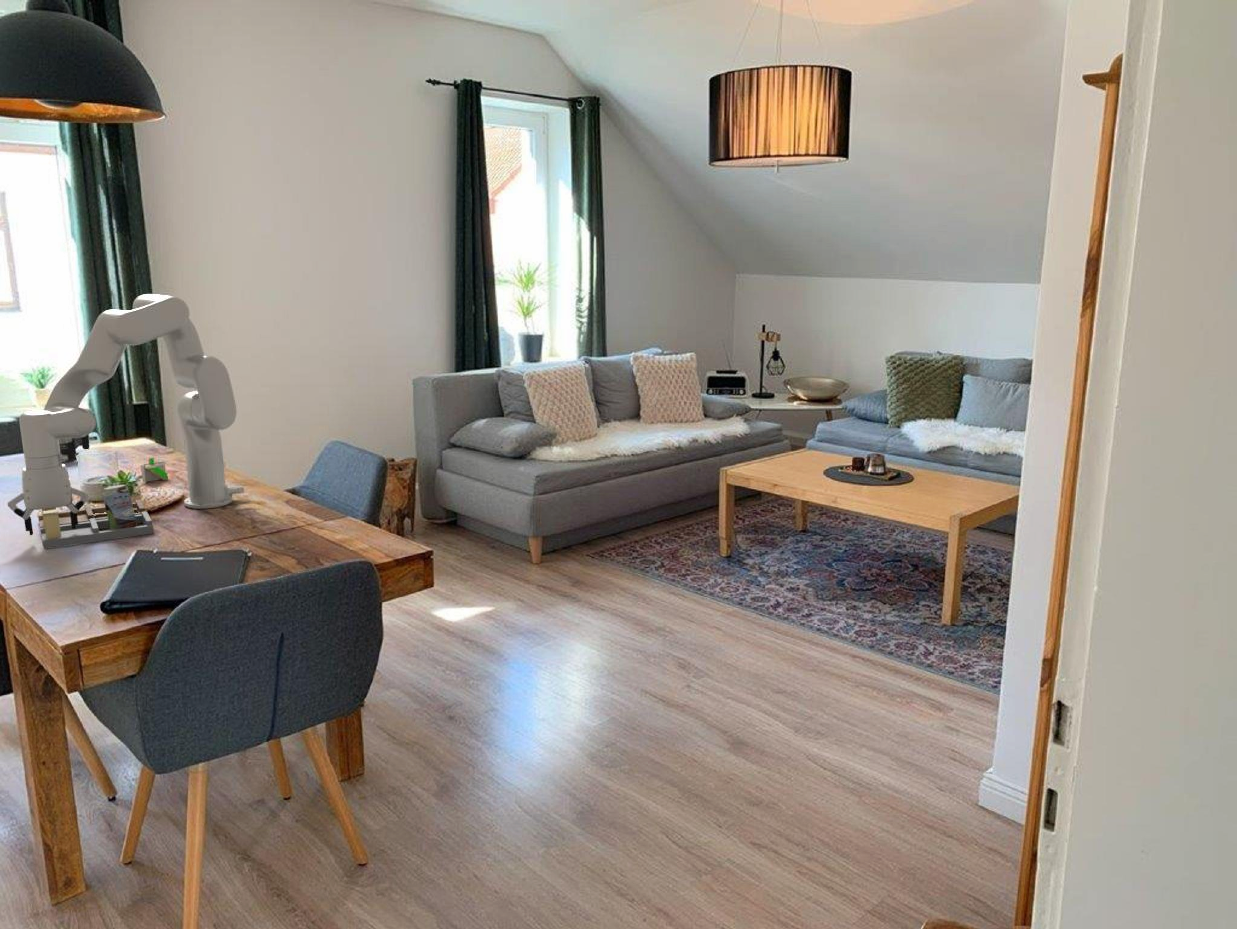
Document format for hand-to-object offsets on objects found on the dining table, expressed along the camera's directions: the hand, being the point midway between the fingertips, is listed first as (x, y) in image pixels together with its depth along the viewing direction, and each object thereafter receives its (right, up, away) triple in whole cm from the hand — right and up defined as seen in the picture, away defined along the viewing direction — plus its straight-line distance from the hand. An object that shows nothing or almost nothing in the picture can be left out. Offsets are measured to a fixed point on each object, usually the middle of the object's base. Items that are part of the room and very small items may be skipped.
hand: (52, 530), depth 233 cm
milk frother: (-47, +18, +85) cm, 98 cm away
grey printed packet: (+13, -1, +9) cm, 15 cm away
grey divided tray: (+8, -1, +6) cm, 10 cm away
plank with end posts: (+1, +1, +16) cm, 16 cm away
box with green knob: (-2, +11, +57) cm, 58 cm away
